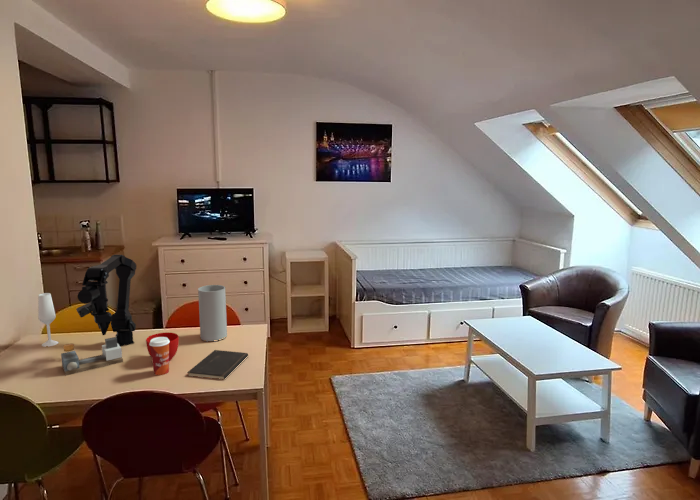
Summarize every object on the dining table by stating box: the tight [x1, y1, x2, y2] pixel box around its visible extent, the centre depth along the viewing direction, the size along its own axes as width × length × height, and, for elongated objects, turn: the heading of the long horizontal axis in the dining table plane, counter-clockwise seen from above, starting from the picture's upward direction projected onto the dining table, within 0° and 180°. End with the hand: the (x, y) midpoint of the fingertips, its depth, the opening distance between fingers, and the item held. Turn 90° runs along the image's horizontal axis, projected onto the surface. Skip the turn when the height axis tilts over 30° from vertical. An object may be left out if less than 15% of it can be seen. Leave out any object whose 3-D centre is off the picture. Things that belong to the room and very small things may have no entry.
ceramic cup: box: [145, 332, 180, 362], centre depth 198 cm, size 13×17×10 cm
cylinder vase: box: [197, 284, 228, 342], centre depth 221 cm, size 12×12×25 cm
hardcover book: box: [187, 349, 249, 380], centre depth 192 cm, size 16×23×2 cm
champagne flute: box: [37, 292, 59, 348], centre depth 211 cm, size 7×7×24 cm
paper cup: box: [149, 337, 170, 376], centre depth 184 cm, size 8×8×14 cm
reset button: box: [62, 343, 75, 353], centre depth 185 cm, size 4×4×2 cm
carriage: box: [101, 336, 123, 361], centre depth 195 cm, size 6×8×8 cm
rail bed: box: [60, 350, 124, 376], centre depth 191 cm, size 21×10×6 cm, turn 129°
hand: (102, 331), depth 194 cm, fingers open, 9 cm apart
